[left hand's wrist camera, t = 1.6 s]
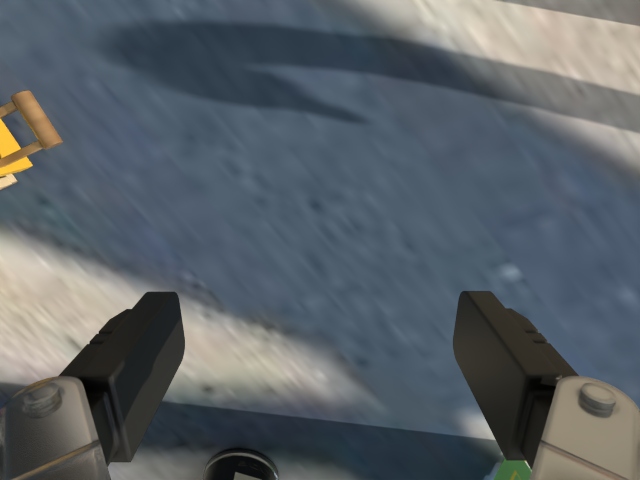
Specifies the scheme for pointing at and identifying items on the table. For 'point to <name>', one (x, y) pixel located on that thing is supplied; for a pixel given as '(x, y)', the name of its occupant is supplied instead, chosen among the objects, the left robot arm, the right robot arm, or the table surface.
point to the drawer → (4, 151)
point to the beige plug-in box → (7, 181)
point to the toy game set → (513, 471)
